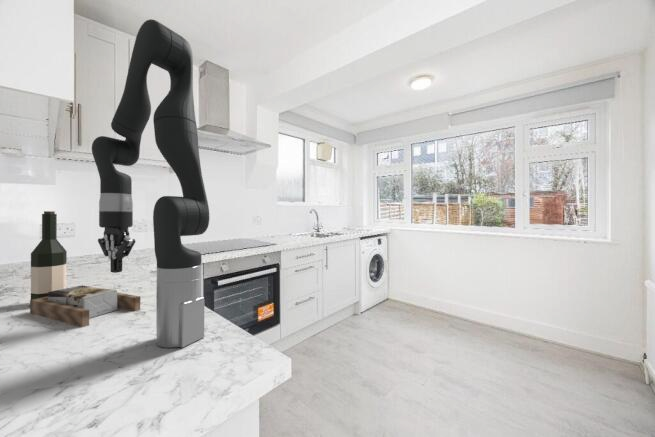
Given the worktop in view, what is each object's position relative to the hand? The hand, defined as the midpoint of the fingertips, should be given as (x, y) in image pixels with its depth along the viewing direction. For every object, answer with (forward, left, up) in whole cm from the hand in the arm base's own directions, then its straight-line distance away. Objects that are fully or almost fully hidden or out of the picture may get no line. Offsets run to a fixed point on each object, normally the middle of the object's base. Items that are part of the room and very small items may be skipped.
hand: (116, 272), depth 79 cm
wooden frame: (+13, 0, -13) cm, 18 cm away
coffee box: (+6, 0, -10) cm, 11 cm away
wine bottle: (+34, 0, -13) cm, 37 cm away
